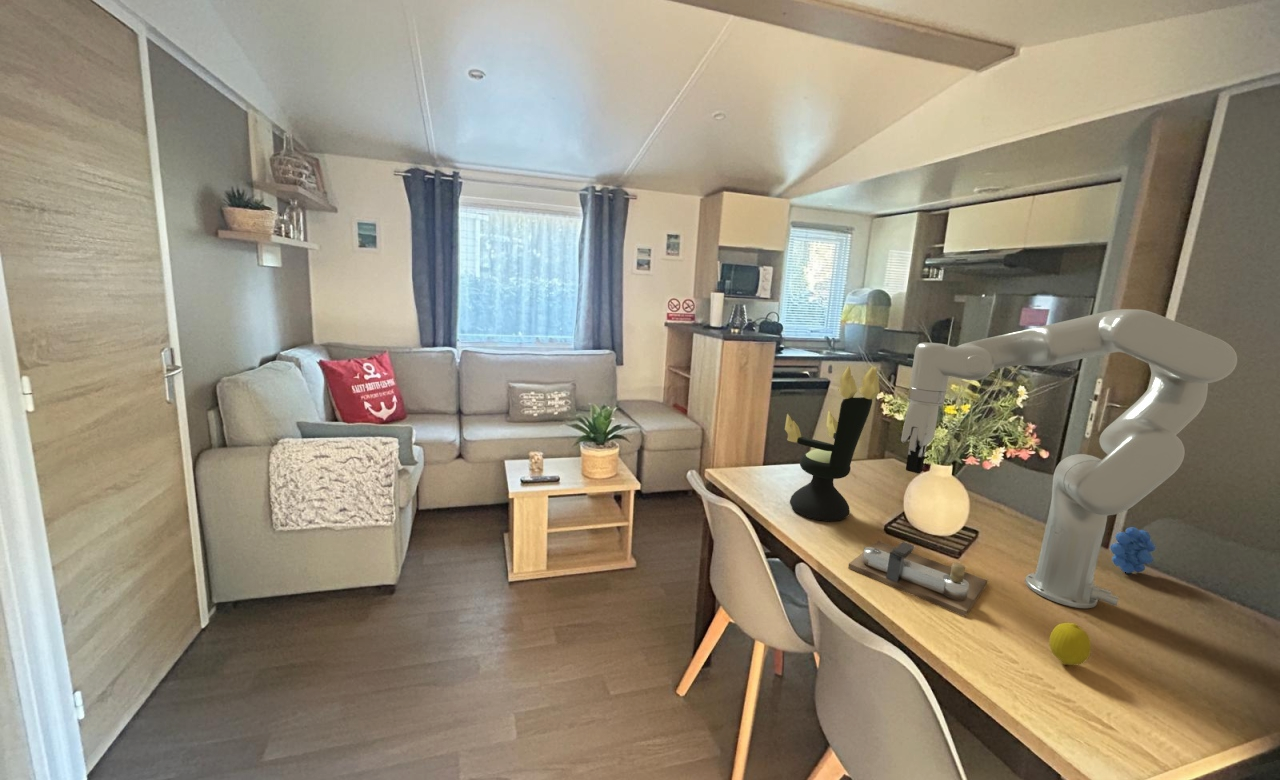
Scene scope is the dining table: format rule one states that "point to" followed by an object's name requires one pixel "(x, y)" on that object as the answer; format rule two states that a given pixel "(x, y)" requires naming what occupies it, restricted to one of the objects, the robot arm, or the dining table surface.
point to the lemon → (1070, 644)
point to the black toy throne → (833, 451)
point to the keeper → (898, 561)
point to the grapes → (1132, 550)
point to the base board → (922, 592)
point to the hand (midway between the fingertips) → (913, 471)
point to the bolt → (919, 574)
